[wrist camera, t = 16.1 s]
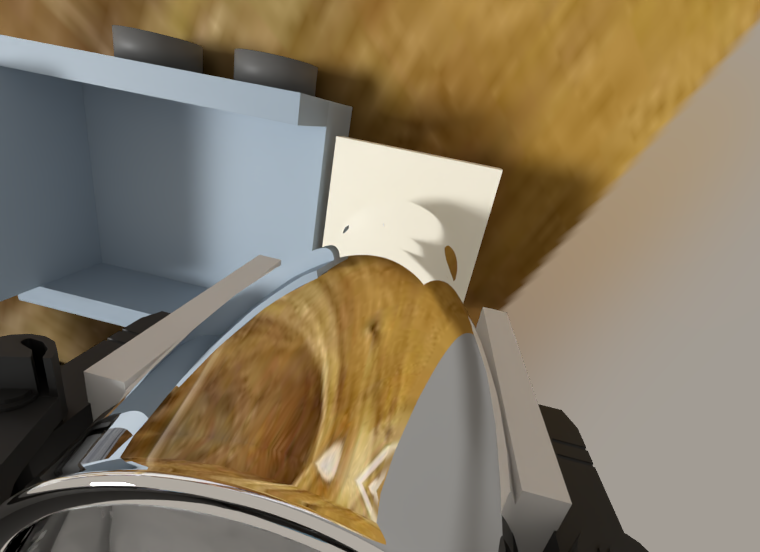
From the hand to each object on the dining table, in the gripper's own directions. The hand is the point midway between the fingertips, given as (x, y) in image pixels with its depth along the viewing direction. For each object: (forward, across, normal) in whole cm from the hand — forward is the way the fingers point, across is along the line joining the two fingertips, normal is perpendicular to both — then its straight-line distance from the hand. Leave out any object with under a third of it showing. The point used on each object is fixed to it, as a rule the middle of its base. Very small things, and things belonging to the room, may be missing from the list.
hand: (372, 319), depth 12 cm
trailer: (+14, -8, 0) cm, 16 cm away
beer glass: (+6, 0, 0) cm, 6 cm away
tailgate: (+8, -4, 0) cm, 9 cm away
